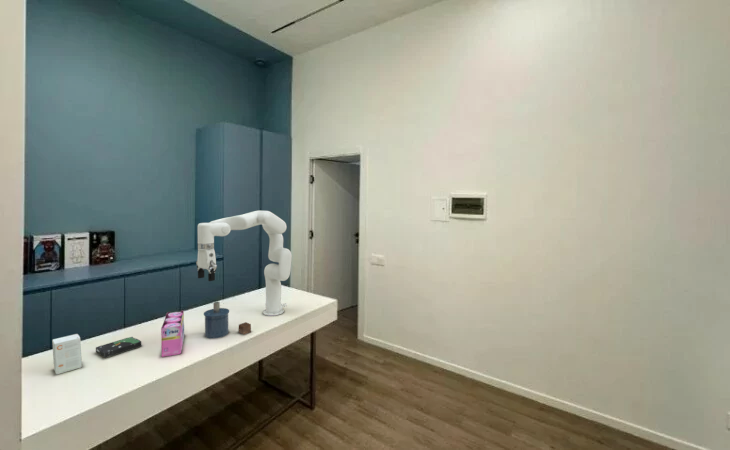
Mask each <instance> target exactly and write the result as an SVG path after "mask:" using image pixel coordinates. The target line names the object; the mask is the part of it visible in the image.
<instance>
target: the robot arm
mask: <svg viewBox="0 0 730 450" xmlns="http://www.w3.org/2000/svg"><path fill="white" fill-rule="evenodd" d="M260 225H261V226H262V229H263V230H264V232H265V233H266V234H267V236H268V238H269V245H268V246H269V247H268V253H267V257H268V260H269V261H271V262H273V263H269V264H267V265H266V266H265V267H264V270H263V274H264V280H265V309H264V310H263V312H262V313H263V315H264V316H269V317H270V316H272V317H274V316H279V315H282V314H283V313H284V308H285V307H287V303H282V282H285V281H287V280H288V279H289V278H290V275H291V270H292V260H293V254H292V251H291V250H290V249H289V248H286V247H284V236H283V234H284V233H286V231H287V228H288V227H287V223H286V222H285V220H283V219H282V218H280V217H279V216H278V215H277V214H275V213H273V212H271V211H270V210H258V209H257V210H254V211H250V212H246V213H244V214H237V215H233V216H229V217H223V218H219V219H215V220H211V221H210V222H200V223H198V224H197V260H196V261H195V263H196V268H197V269H196V270H197V279H203V278H205V270H207V272H208V275H207V278H208V279H207V281H208V282H213V281H216V271H217V268H218V265H217V259H216V251H215V237H226V236H228V235H229V234H230V233H231V231H243V230H247V229H249V228H253V227H257V226H260ZM277 263H278V264H277Z"/></svg>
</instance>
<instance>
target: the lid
mask: <svg viewBox="0 0 730 450" xmlns="http://www.w3.org/2000/svg"><path fill="white" fill-rule="evenodd" d="M212 305H213V307H212V308H211V309H208V310H206V311H203V317H205V316H206V317H219V316H223V315H226V314H228V315H229V313H230V309H228V308H225V307H221V303H220V301H215V302H213V304H212Z"/></svg>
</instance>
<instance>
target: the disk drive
mask: <svg viewBox="0 0 730 450" xmlns="http://www.w3.org/2000/svg"><path fill="white" fill-rule="evenodd" d="M140 347H142V341H141V340H140V339H138V338H136V337H133V336H129V337H125V338H121V339H119V340H116V341H112V342H109V343H104V344H102V345H98V346H95V353H96V354H98V355H100V357H102V358H104V359H107V358H111V357H114V356H117V355H119V354H122V353H125V352H128V351H129V352H130V351H131V350H134V349H137V348H140Z"/></svg>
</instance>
